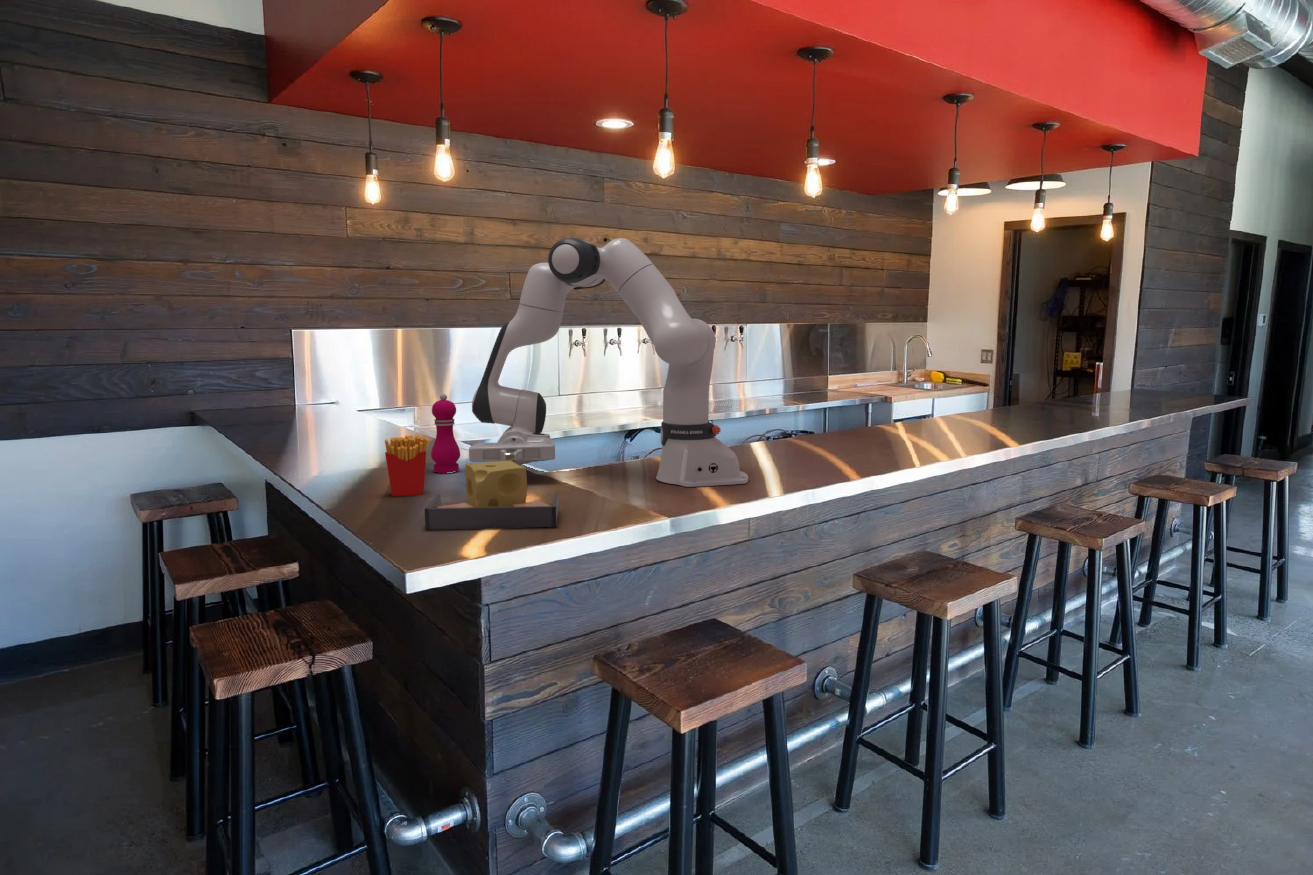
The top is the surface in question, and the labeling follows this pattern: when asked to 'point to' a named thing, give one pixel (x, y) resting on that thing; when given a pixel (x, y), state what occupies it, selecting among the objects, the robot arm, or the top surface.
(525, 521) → the box
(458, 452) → the pepper mill
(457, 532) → the top surface
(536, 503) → the tile
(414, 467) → the french fries
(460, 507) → the tile
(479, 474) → the cheese
